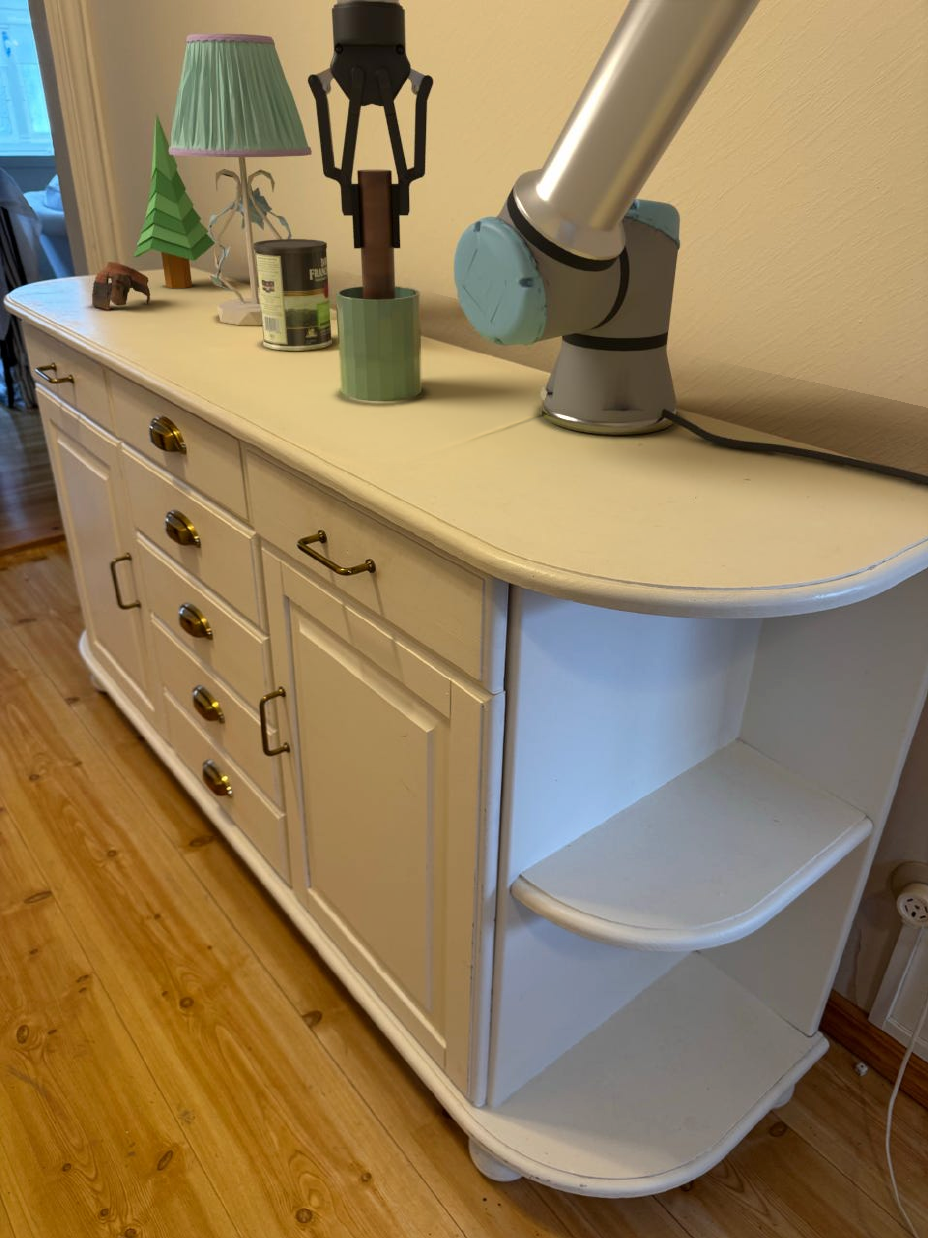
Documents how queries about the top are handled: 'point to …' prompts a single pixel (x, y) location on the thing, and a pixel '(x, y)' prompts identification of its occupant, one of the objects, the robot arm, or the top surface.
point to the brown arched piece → (117, 285)
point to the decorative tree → (171, 218)
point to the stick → (376, 233)
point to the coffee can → (293, 294)
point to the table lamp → (237, 133)
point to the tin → (379, 344)
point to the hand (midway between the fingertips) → (377, 246)
